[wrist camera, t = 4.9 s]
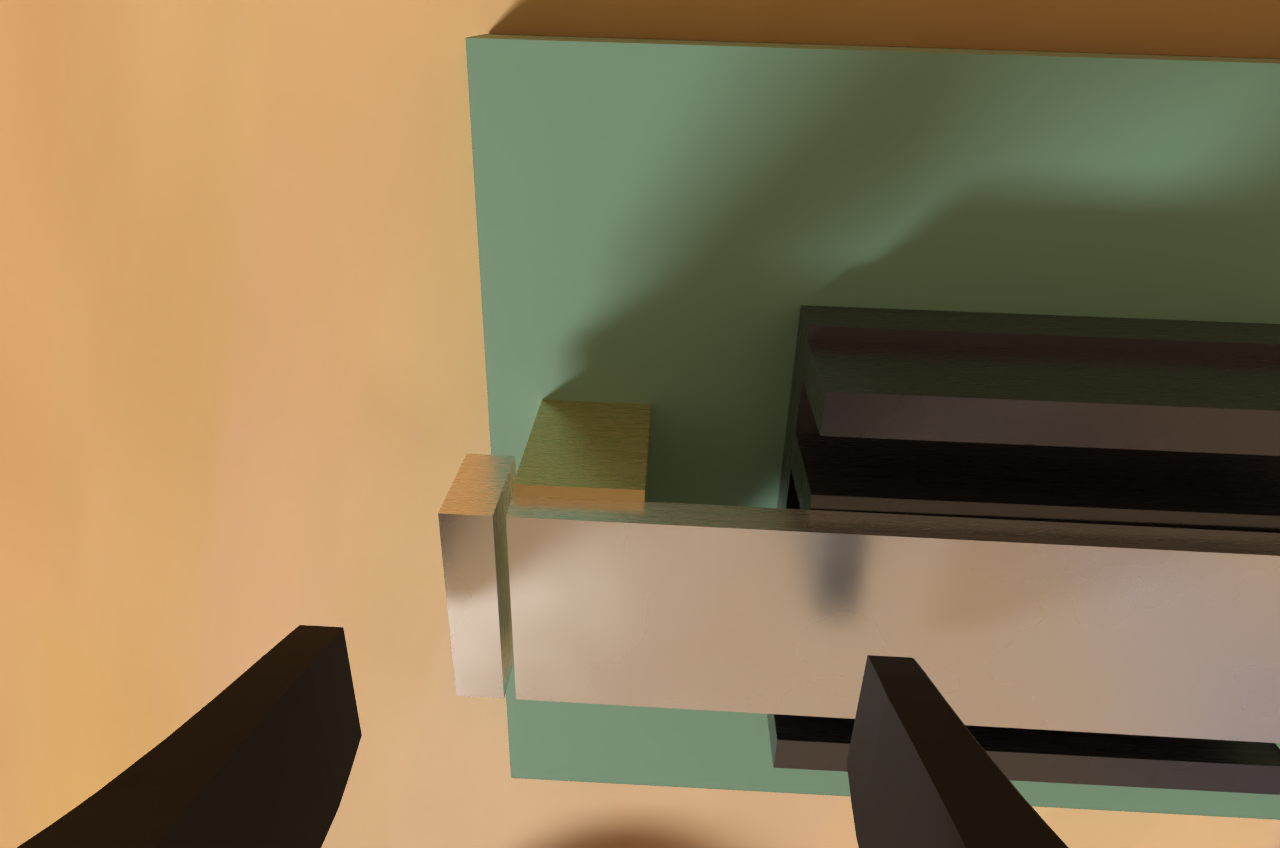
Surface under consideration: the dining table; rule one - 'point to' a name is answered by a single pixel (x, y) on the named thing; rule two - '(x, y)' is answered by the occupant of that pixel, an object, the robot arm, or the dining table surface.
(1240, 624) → the beige long bar
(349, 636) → the dining table surface
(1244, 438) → the dark and beige blocks
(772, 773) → the circuit board
